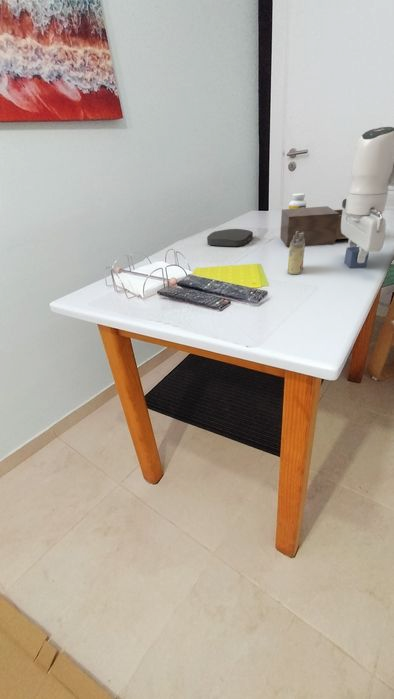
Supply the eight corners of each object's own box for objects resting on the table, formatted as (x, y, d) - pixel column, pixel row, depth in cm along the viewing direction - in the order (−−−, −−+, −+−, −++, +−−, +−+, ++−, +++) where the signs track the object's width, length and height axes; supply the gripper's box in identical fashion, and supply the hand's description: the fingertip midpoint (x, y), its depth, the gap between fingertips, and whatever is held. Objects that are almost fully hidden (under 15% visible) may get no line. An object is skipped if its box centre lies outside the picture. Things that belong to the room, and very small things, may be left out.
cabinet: (323, 234, 121) (327, 206, 116) (334, 244, 111) (339, 213, 106) (280, 237, 122) (281, 209, 117) (286, 247, 112) (288, 216, 107)
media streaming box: (203, 245, 121) (203, 237, 119) (219, 235, 131) (219, 227, 130) (242, 247, 115) (242, 239, 113) (255, 236, 126) (255, 228, 124)
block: (360, 262, 95) (363, 246, 92) (366, 267, 91) (369, 250, 89) (344, 263, 95) (346, 247, 93) (349, 268, 91) (352, 252, 89)
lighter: (299, 275, 90) (302, 237, 84) (285, 274, 91) (287, 236, 86) (303, 266, 95) (307, 230, 90) (289, 265, 96) (292, 229, 91)
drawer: (363, 229, 119) (367, 206, 115) (376, 238, 110) (381, 212, 106) (309, 233, 121) (312, 210, 117) (318, 241, 111) (321, 217, 107)
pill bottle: (294, 228, 132) (296, 196, 126) (284, 225, 138) (286, 194, 131) (307, 225, 134) (310, 193, 128) (297, 222, 140) (299, 192, 133)
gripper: (398, 211, 76) (384, 271, 83) (363, 197, 93) (354, 247, 100) (369, 213, 76) (358, 272, 83) (339, 199, 93) (332, 249, 101)
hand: (355, 258), depth 92 cm, fingers closed on block, 4 cm apart
